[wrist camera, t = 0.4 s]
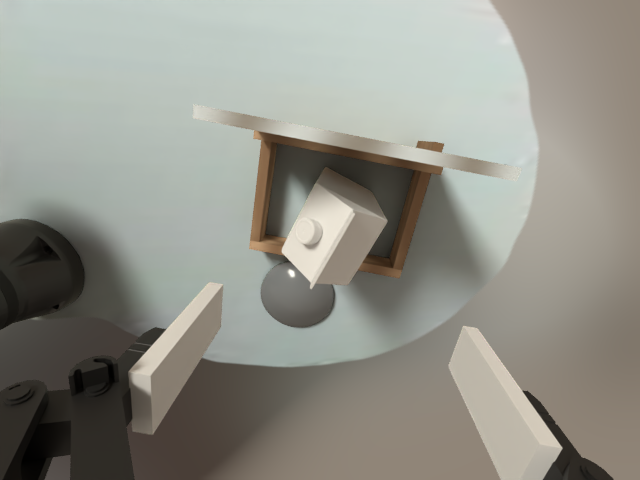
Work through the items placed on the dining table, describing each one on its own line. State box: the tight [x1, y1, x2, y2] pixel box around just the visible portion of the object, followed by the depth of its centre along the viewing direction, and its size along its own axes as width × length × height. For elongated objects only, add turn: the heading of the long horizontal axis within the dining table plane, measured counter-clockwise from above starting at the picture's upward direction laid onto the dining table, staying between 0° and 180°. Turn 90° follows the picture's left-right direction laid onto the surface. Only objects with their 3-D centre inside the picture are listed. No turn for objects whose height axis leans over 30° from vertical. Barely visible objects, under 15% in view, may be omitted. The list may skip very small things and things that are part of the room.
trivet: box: [261, 261, 333, 327], centre depth 46 cm, size 11×11×1 cm
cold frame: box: [193, 104, 522, 278], centre depth 31 cm, size 20×17×21 cm
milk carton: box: [282, 167, 388, 289], centre depth 32 cm, size 7×7×19 cm
